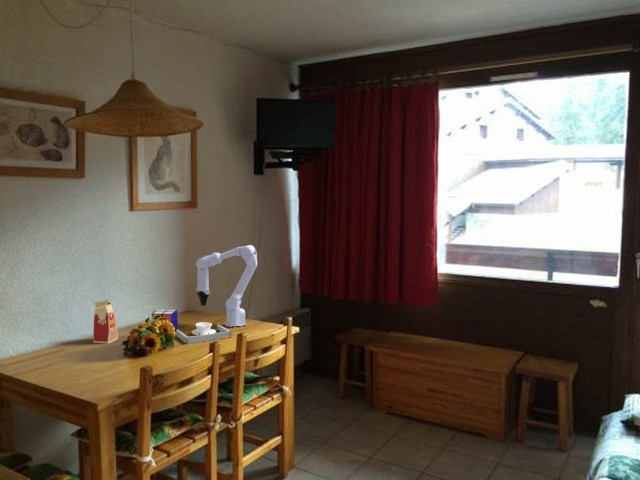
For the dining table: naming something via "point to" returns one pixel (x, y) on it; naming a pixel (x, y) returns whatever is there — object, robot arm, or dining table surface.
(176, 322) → the puzzle cube
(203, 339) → the tray
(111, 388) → the dining table surface
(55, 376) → the dining table surface
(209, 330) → the teacup
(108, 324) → the milk carton
